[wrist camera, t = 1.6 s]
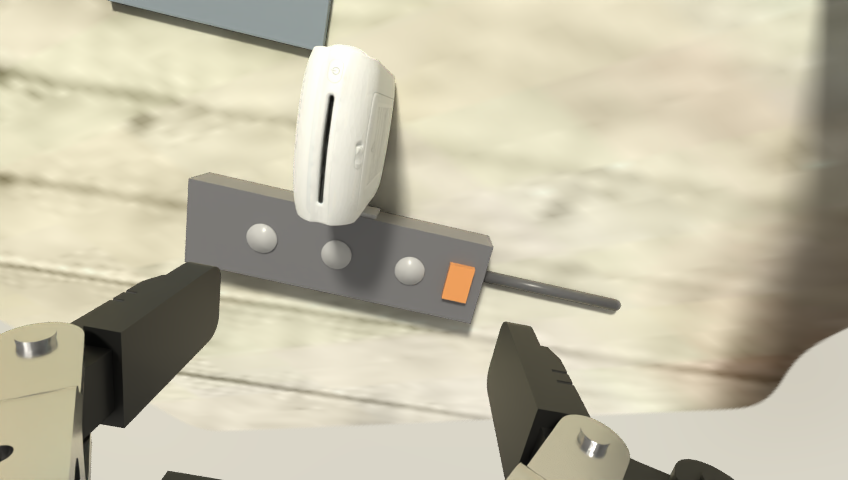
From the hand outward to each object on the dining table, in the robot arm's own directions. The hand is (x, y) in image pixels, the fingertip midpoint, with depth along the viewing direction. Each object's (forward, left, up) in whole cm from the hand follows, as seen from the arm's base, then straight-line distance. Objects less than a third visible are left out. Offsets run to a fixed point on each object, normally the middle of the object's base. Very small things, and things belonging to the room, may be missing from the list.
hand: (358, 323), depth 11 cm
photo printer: (-3, -4, -24) cm, 24 cm away
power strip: (+6, +2, -23) cm, 24 cm away
